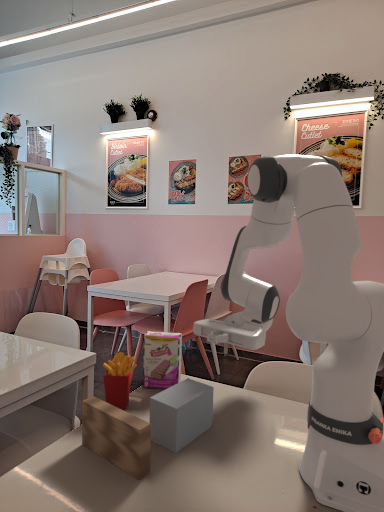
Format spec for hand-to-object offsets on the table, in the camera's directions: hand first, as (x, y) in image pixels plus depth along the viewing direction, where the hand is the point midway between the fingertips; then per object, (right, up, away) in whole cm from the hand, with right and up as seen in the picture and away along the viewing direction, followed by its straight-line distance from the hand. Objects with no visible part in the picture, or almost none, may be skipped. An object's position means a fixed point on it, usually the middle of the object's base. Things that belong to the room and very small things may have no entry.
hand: (211, 339), depth 94 cm
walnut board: (-21, -21, -18) cm, 35 cm away
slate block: (-7, -20, -8) cm, 23 cm away
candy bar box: (-14, -18, +17) cm, 29 cm away
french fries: (-24, -19, +4) cm, 31 cm away
